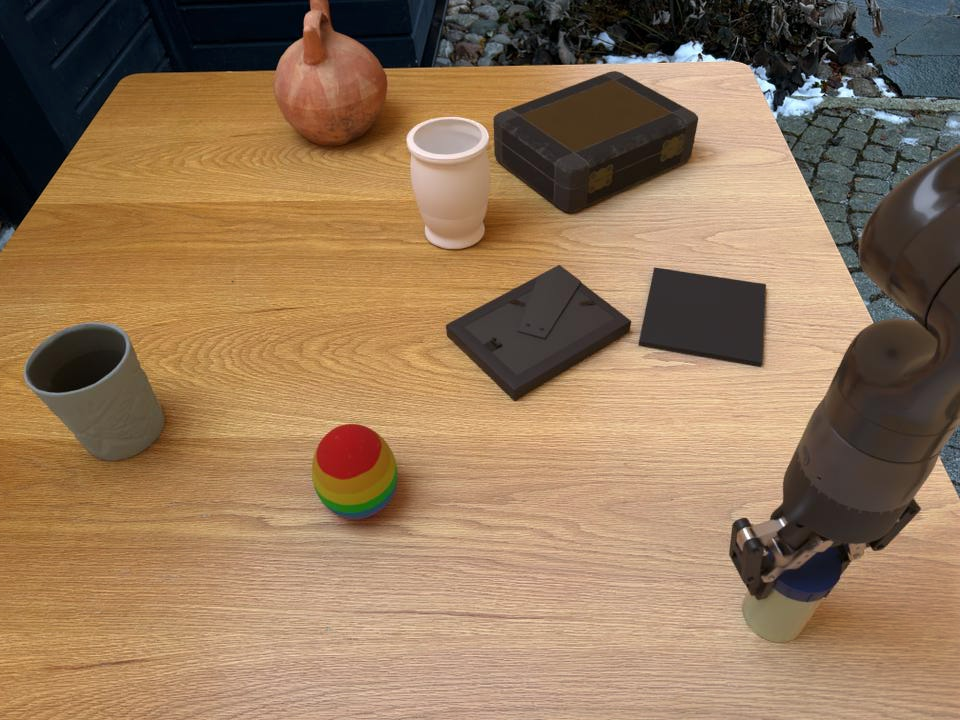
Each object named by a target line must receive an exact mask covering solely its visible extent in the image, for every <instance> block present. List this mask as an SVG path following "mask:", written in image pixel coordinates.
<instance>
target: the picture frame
mask: <svg viewBox="0 0 960 720" xmlns="http://www.w3.org/2000/svg"><path fill="white" fill-rule="evenodd" d="M631 325H632V320H631V319H630V318H628V317H627V316H626V315H625V314H623V313H622V312H621V311H620V310H618V309H616V308H615V306H614V307H613V306H612V305H611V304H610V303H609V302H607V301H606V300H605V299H604V298H602V297H601V296H599V295H598V294H597V293H596V292H594V291H593V290H592V289H591V288H589V287H588V286H587V285H586V284H584V283H583V282H582V280H580V279H579V278H577V277H576V276H575V275H574V274H572V273H571V272H570V271H568V270H567V269H566V268H565V267H563V266H562V265H561V264H558V265H556V266H554V267H552V268H550V269H548V270H546V271H545V272H542V273H539V274H538V275H537V276H535V277H533V278H532V279H530V280H527V281H525V282H524V283H522V284H520V285H518V286H517V287H514V288H512V289H510V290H509V291H507V292H505V293H503V294H501V295H499V296H498V297H496V298H494V299H492V300H490V301H488V302H486V303H485V304H482V305H480V306H479V307H477V308H475V309H472V310H471V311H469V312H468V313H467V312H466V313H465V314H463V315H462V316H460V317H458V318H456V319H454V320H452V321H450V322H448V323H446V324H445V330H446V331H445V332H446V336H447V337H448V339H450V340H451V341H452V343H454V344H455V345H456V346H457V347H458V349H460V350H461V351H462V352H463V353H464V354H465V355H466V356H467V357H468V358H469V359H470V360H471V361H472V362H473V363H474V364H476V366H478V368H479V369H481V371H483V372H484V373H485V374H486V375H487V377H489V378H490V379H491V380H492V381H493V382H494V383H495V384H496V385H497V386H498V388H500V389H501V390H502V391H503V392H504V393H505V394H506V395H507V396H508V397H509V398H510V399H511V400H513V402H516V401H518V400H519V399H521V398H523V397H524V396H526V395H527V394H529V393H531V392H533V391H534V390H536V389H537V388H539V387H541V386H543V385H544V384H545V383H547V382H549V381H550V380H552V379H554V378H556V377H557V376H559V375H561V374H563V373H564V372H566V371H567V370H569V369H570V368H572V367H574V366H575V365H578V364H579V363H581V362H582V361H584V360H586V359H587V358H589V357H591V356H592V355H595V354H596V353H597V352H599V351H601V350H603V349H604V348H606V347H608V346H609V345H611V344H612V343H614V342H616V341H617V340H619V339H621V338H622V337H624V336H626V335H627V334H629V333H630V331H631Z"/></svg>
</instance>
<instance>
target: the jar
mask: <svg viewBox="0 0 960 720" xmlns="http://www.w3.org/2000/svg"><path fill="white" fill-rule="evenodd" d="M489 144H490V137H489V132H488V130H487V129H486V127H485V126H484V125H482V124H481V123H479V122H477V121H475V120H472V119H469V118H465V117H458V116H444V117H443V116H440V117H435V118H431V119H427V120H424V121H422V122H420V123H418V124H416V125H415V126H413V127H412V128H411V129H410V130H409V132H408V133H407V135H406V146H407V149H408V151H409V153H410V154H411V157H410V166H409V169H410V171H409V172H410V183H411V188H412V193H413V196H414V199H415V201H416V204H417V208H418V212H419V215H420V218H421V219H422V222H424V224H425V227H424V235H425V237H426V239H427V241H428V242H429V243H431V244H432V245H434V246H436V247H437V248H442V249H445V250H462V249H466V248H470V247H472V246H474V245H476V244H478V242H480V241H481V240H482V238H483V237H484V235H485V231H486V227H485V224H484V222H483V221H484V220H485V217H486V214H487V210H488V204H489V196H490V191H491V181H492V180H491V179H492V178H491V176H492V175H491V165H490V159H489V154H488V152H487V149H488V147H489Z"/></svg>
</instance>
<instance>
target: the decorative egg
mask: <svg viewBox="0 0 960 720" xmlns="http://www.w3.org/2000/svg"><path fill="white" fill-rule="evenodd" d="M398 472H399V471H398V465H397V462H396V458H395V455H394V452H393V451H392V449H391V446H390V445H389V444H388V442H387V441H386V439H384V438H383V436H381V435H380V434H379V433H378V432H376V430H373V429H372V428H370V427H368V426H366V425H363V424H357V423H345V424H341V425H339V426H336V427H333V428H332V429H330V430H329V431H328V432H327V433H326V434H325V435H324V437H322V438H321V440H320V442H319V443H318V444H317V447H316V448H315V450H314V454H313V457H312V463H311V477H312V478H311V480H312V484H313V488H314V490H315V492H316V493H315V494H316V495H317V497H318V499H319V500H320V501H321V503H322V504H323V505H324V506H325V507H326V508H327V510H329V511H330V512H332V513H333V514H335V515H337V516H338V517H341V518H344V519H349V520H364V519H368V518H370V517H372V516H375V515H376V514H378V513H380V512H381V511H382V510H383V509H384V508H385V507H386V506H387V505H388V504H389V503H390V501H391V499H392V498H393V497H394V494H395V493H396V489H397V484H398V474H399V473H398Z"/></svg>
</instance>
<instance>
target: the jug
mask: <svg viewBox="0 0 960 720" xmlns="http://www.w3.org/2000/svg"><path fill="white" fill-rule="evenodd" d="M309 6H310V11H308V12H307V13H305V16H304V19H303V29H302V31H303V34H302V37H301V38H299V39H298V40H296V41H294V43H292V44H291V45H290V46H288V47H287V49H286V50H285V51H284V53H283V54H282V55H281V56H280V59H279V60H278V63H277V66H276V69H275V73H274V77H273V84H272V88H273V94H274V98H275V102H276V104H277V107H278V109H279V110H280V112H281V114H282V116H283V118H284V119H285V121H286V122H287V123H288V124H289V125H290V126H291V127H292V128H293V129H294V130H296V132H298V133H299V134H300V135H301V136H303V138H305V139H306V140H308V141H310V142H311V143H313V144H317V145H319V146H323V147H336V146H337V147H338V146H342V145H347V144H350V143H353V142H354V141H357V140H359V139H360V138H362V137H364V136H365V135H366V134H367V133H368V132H369V130H370V129H371V128H372V126H373V125H375V122H376V120H377V119H378V118H379V117H380V115H381V113H382V111H383V110H384V109H383V108H384V106H385V105H386V100H387V94H388V77H387V73H386V71H385V70H384V68H383V66H382V64H381V63H380V60H379V59H378V58H377V56H375V54H374V53H373V52H372V51H371V50H369V48H367V47H366V46H365V45H363V44H362V43H360V42H359V41H357V40H356V39H354V38H352V37H350V36H348V35H345V34H342V33H340V32H337V31H335V30H334V28H333V25H332V21H331V16H330V15H331V14H330V13H331V12H330V4H329V0H309Z"/></svg>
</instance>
